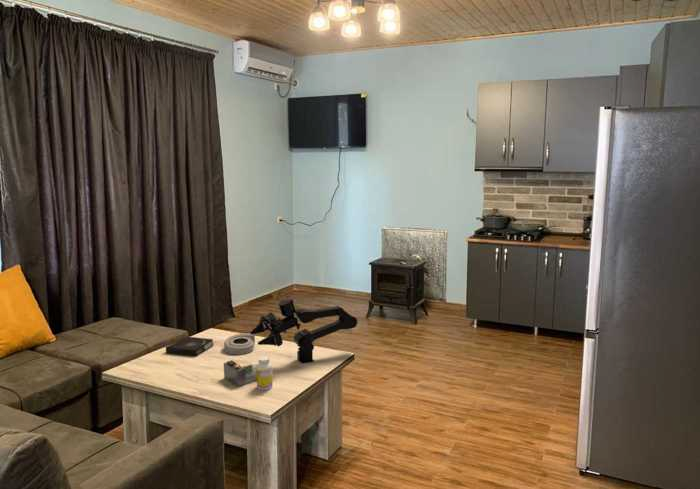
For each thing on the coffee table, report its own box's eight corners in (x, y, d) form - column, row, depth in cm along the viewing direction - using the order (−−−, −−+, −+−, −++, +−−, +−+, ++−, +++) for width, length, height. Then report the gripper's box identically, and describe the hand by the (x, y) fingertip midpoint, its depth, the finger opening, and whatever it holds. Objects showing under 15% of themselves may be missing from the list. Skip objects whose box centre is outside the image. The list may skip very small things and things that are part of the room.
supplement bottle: (257, 384, 232) (256, 355, 230) (273, 383, 233) (272, 355, 231) (256, 390, 226) (255, 361, 224) (272, 390, 226) (271, 360, 224)
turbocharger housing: (221, 357, 267) (251, 357, 267) (220, 345, 265) (250, 345, 265) (229, 343, 283) (257, 343, 283) (228, 331, 282) (257, 331, 281)
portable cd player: (196, 358, 264) (196, 350, 263) (166, 354, 268) (165, 346, 268) (213, 346, 279) (213, 339, 279) (185, 343, 284) (184, 336, 283)
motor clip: (251, 370, 247) (250, 353, 246) (264, 378, 238) (264, 360, 237) (224, 378, 238) (223, 360, 237) (237, 386, 229) (236, 368, 228)
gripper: (273, 301, 255) (242, 314, 249) (290, 320, 240) (257, 335, 234) (278, 319, 260) (248, 333, 254) (294, 339, 246) (263, 354, 240)
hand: (254, 338), depth 245 cm, fingers open, 9 cm apart
